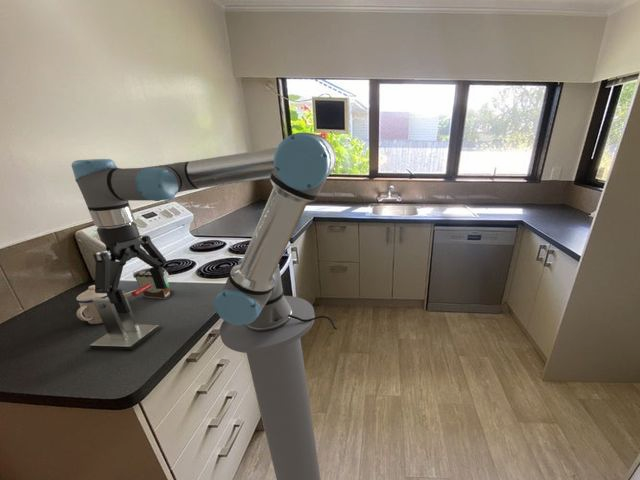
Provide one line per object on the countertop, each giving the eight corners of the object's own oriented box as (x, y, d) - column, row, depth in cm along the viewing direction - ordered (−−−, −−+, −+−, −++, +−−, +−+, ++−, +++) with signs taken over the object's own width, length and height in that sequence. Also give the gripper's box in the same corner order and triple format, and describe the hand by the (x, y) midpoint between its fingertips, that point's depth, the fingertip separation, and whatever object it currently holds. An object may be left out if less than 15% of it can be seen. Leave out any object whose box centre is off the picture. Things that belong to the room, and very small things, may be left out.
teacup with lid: (103, 309, 100) (90, 280, 95) (130, 308, 100) (118, 279, 96) (70, 331, 89) (53, 298, 84) (100, 330, 89) (85, 297, 85)
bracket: (159, 328, 90) (144, 287, 84) (131, 350, 80) (112, 305, 75) (123, 327, 90) (105, 286, 85) (91, 349, 81) (69, 304, 75)
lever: (153, 288, 81) (148, 281, 80) (138, 297, 76) (133, 289, 76) (118, 301, 83) (112, 294, 83) (101, 310, 79) (95, 303, 78)
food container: (182, 291, 112) (175, 268, 108) (168, 299, 106) (160, 275, 102) (155, 288, 114) (147, 265, 110) (140, 296, 108) (131, 272, 104)
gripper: (142, 212, 83) (164, 279, 91) (46, 240, 60) (87, 325, 69) (167, 212, 82) (187, 279, 91) (80, 240, 60) (117, 326, 68)
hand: (144, 299), depth 80 cm, fingers open, 12 cm apart
